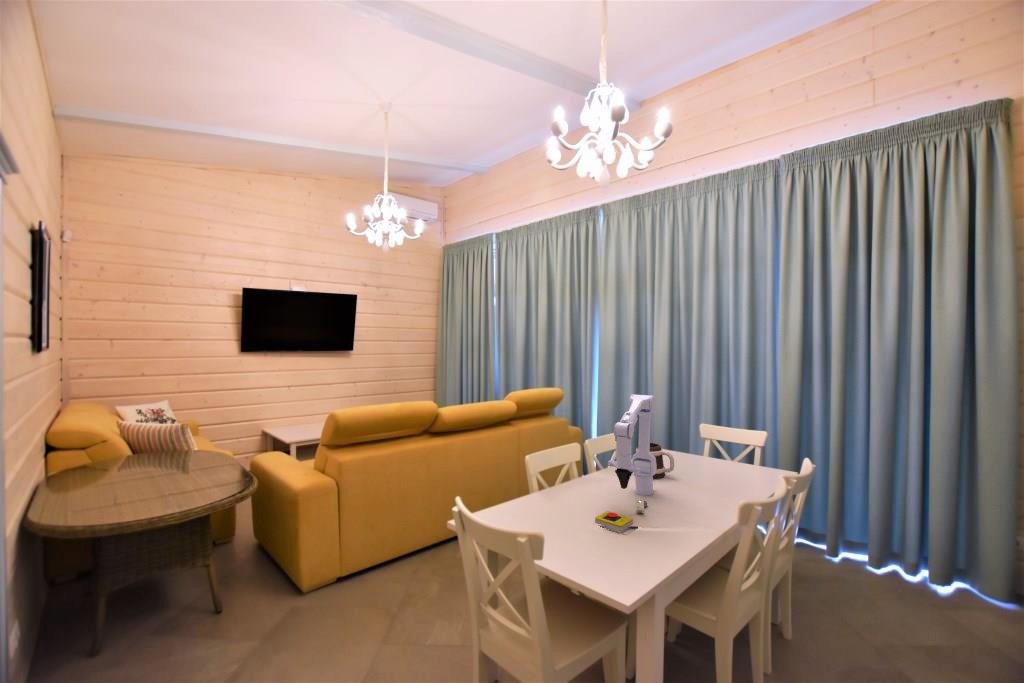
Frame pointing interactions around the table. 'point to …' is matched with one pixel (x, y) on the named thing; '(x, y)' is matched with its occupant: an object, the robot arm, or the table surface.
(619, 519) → the emergency button
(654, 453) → the mug
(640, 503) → the crank
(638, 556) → the table surface
